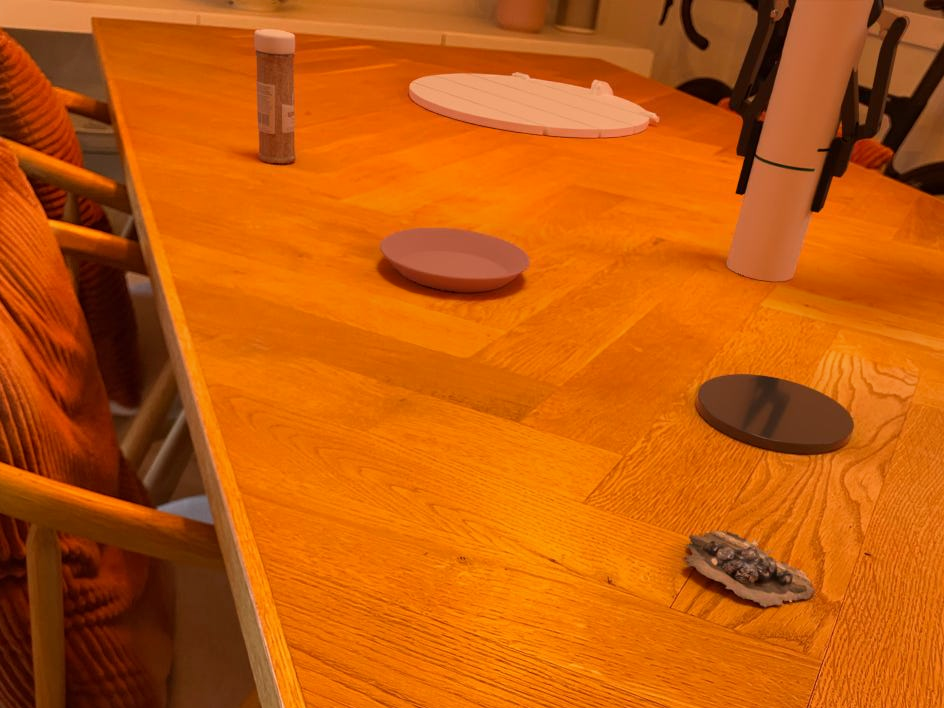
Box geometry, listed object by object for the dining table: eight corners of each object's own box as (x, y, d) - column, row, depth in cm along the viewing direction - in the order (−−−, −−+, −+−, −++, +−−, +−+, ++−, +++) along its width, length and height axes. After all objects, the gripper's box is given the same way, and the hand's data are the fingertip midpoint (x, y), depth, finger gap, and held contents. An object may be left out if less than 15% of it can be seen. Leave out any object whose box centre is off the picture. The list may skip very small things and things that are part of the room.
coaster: (862, 411, 79) (866, 402, 79) (834, 470, 71) (838, 460, 70) (719, 370, 83) (721, 361, 82) (675, 421, 74) (678, 411, 74)
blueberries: (688, 529, 62) (695, 503, 61) (816, 560, 61) (826, 534, 60) (674, 586, 57) (682, 559, 56) (814, 621, 56) (825, 594, 54)
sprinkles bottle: (300, 164, 119) (300, 36, 111) (264, 165, 117) (261, 34, 109) (288, 154, 122) (287, 28, 114) (252, 155, 120) (249, 27, 112)
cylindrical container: (806, 277, 105) (894, 1, 90) (761, 284, 102) (845, -2, 86) (757, 255, 110) (832, -12, 94) (712, 261, 106) (783, -15, 91)
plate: (548, 299, 92) (551, 278, 90) (398, 300, 88) (399, 277, 86) (500, 248, 102) (503, 228, 101) (365, 246, 98) (365, 226, 97)
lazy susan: (531, 77, 183) (533, 56, 181) (699, 127, 162) (705, 104, 160) (359, 85, 160) (360, 61, 158) (530, 146, 139) (534, 119, 137)
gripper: (736, -90, 87) (675, 185, 102) (972, -56, 81) (871, 231, 96) (757, -89, 93) (696, 172, 107) (979, -57, 87) (883, 215, 101)
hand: (779, 200), depth 101 cm, fingers closed on cylindrical container, 7 cm apart
